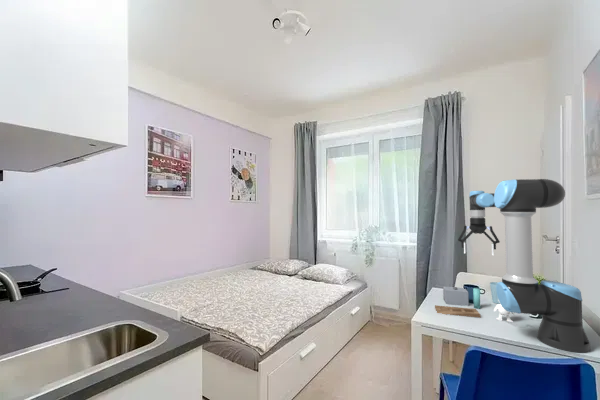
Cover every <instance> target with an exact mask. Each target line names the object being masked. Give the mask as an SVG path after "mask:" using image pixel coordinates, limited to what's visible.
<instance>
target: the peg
mask: <svg viewBox="0 0 600 400" xmlns="http://www.w3.org/2000/svg"><path fill="white" fill-rule="evenodd" d="M472 291H473V292H472V293H473V309H476V310H477V309H478V310H479V309H480V310H481V289H480V288H478V287H474V288H473V290H472Z"/></svg>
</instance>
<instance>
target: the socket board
mask: <svg viewBox="0 0 600 400" xmlns="http://www.w3.org/2000/svg"><path fill="white" fill-rule="evenodd" d="M434 310H435V312H436V311H437V312H436V313H442V314H441V315H447V314H450V315H449V316H458V315H459V316H461V317H471V318H479V319H480V318H481V314H480V312H479V311H478V310H477V309H476V308H469V307H458V306H445V305H434Z"/></svg>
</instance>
